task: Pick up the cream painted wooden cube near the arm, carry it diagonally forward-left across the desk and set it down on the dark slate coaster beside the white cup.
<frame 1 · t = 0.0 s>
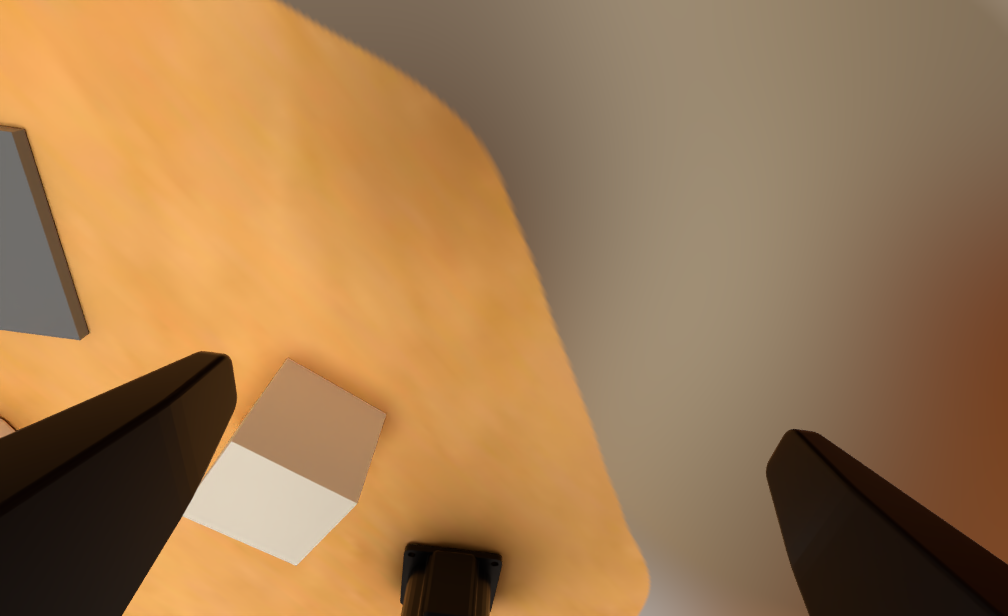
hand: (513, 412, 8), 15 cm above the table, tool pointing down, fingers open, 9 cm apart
cube: (312, 418, 28), on the table
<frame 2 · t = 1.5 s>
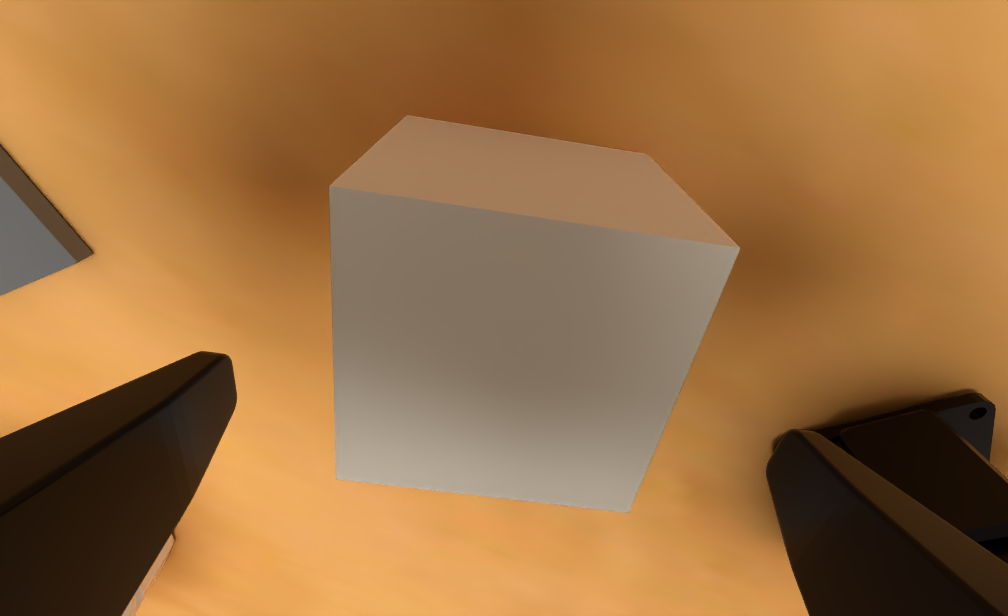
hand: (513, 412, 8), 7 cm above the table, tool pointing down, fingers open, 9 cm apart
cube: (509, 245, 14), on the table
white cup: (92, 515, 20), on the table
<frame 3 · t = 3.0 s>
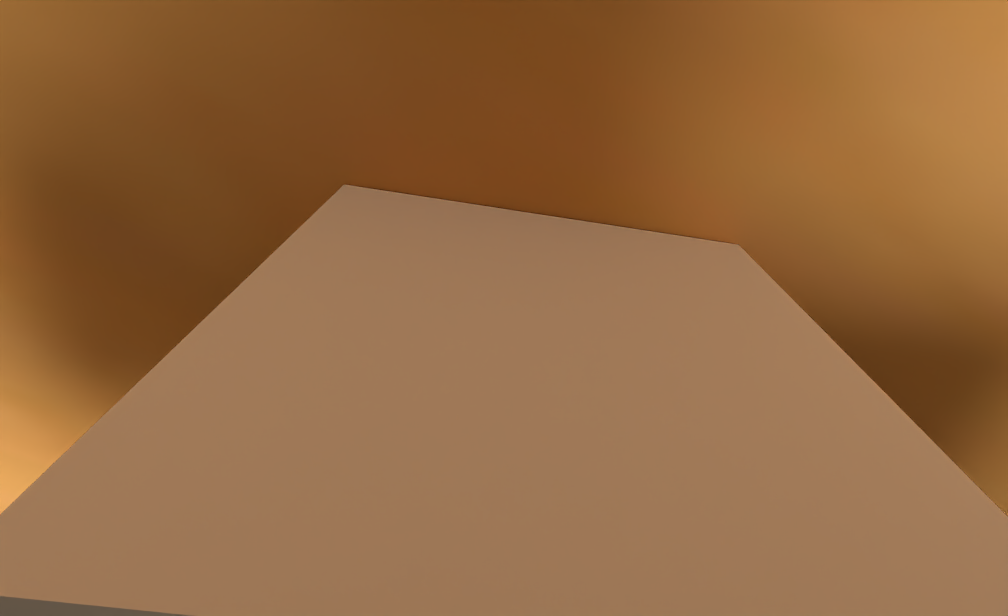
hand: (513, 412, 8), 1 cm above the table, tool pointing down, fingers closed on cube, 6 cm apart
cube: (513, 373, 9), on the table, touching gripper
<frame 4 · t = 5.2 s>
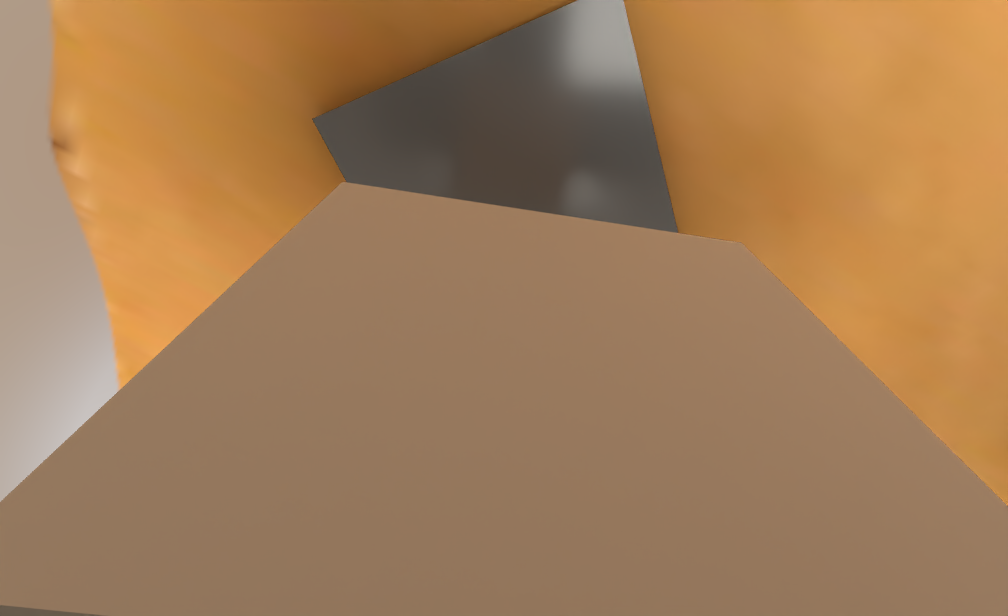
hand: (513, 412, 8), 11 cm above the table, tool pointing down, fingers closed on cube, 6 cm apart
cube: (514, 373, 9), point 10 cm above the table, touching gripper
coaster: (514, 201, 18), on the table
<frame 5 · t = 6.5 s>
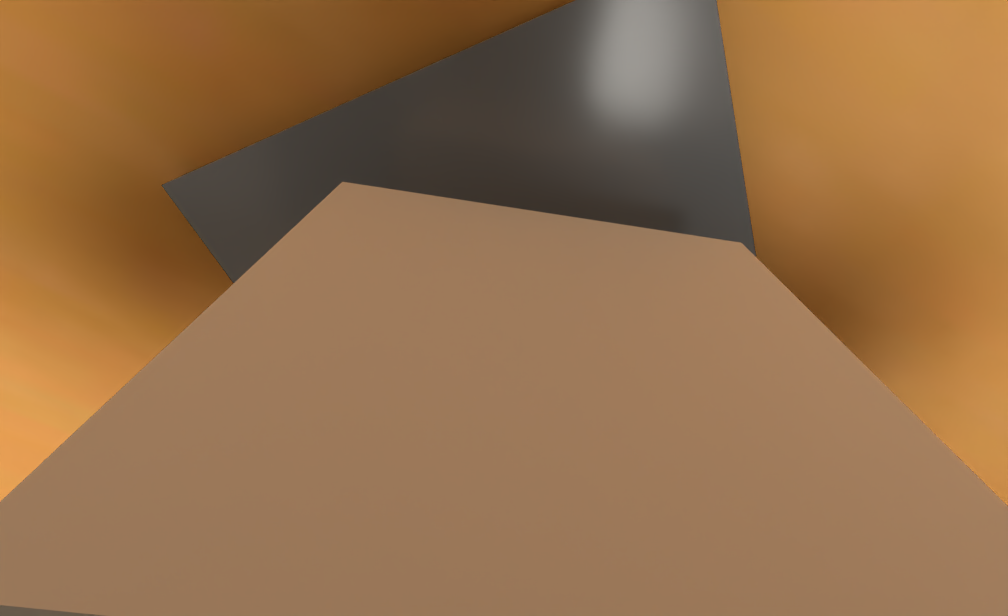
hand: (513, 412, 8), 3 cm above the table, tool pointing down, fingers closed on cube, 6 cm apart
cube: (514, 373, 9), point 3 cm above the table, touching gripper
coaster: (510, 305, 11), on the table
when the fingers open (3 cm above the table, at t = 7.5 s): cube drops 1 cm, resting on coaster.
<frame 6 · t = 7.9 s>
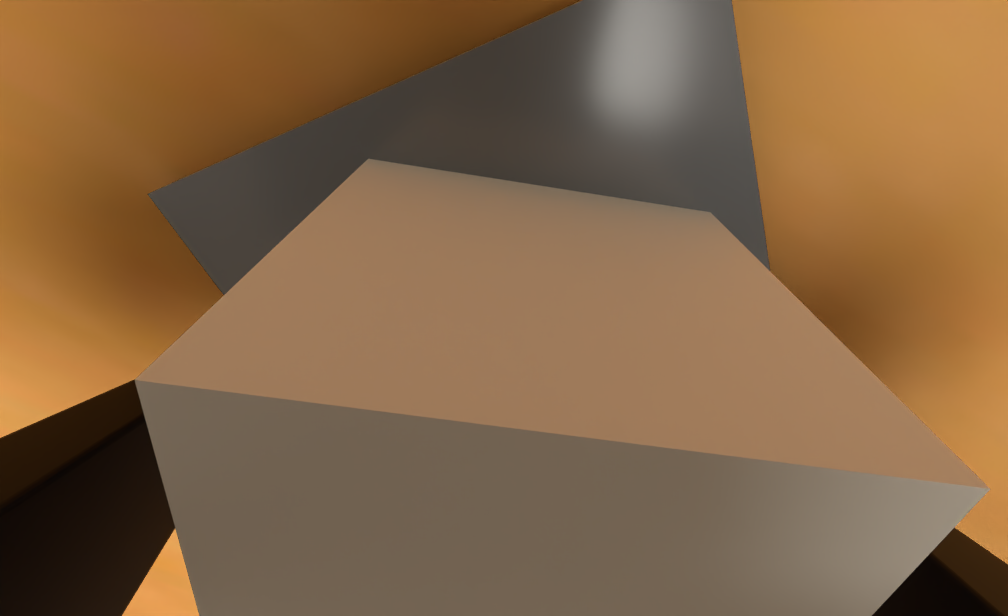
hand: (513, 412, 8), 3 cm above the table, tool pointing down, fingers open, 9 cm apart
cube: (514, 330, 10), point 1 cm above the table, touching coaster
coaster: (512, 317, 11), on the table
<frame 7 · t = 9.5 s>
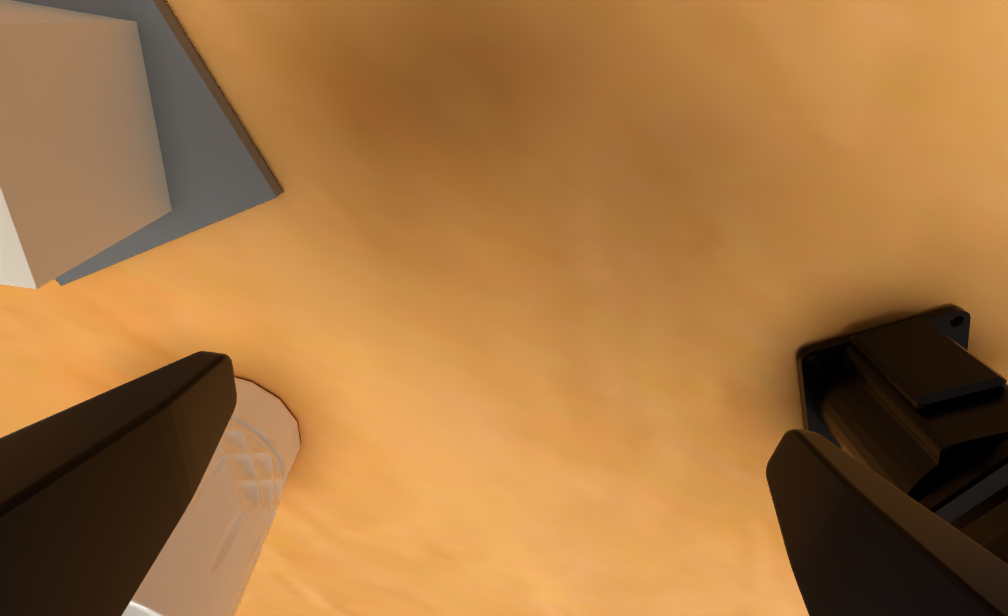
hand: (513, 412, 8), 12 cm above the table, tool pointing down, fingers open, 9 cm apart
cube: (60, 109, 16), point 1 cm above the table, touching coaster
coaster: (73, 108, 17), on the table
white cup: (233, 423, 24), on the table
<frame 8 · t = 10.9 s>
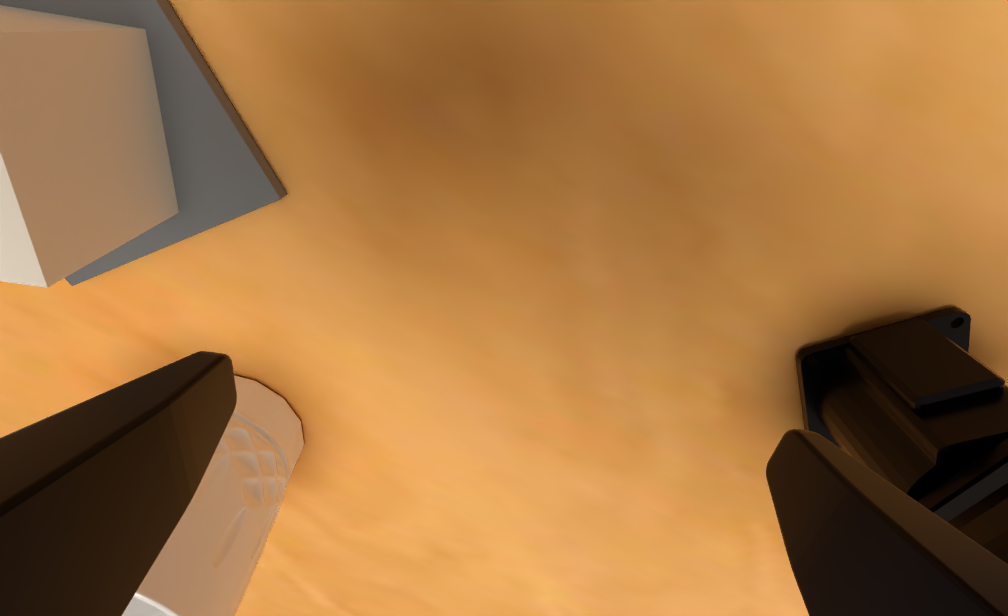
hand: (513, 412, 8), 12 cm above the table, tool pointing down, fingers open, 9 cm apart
cube: (72, 114, 17), point 1 cm above the table, touching coaster
coaster: (84, 113, 17), on the table
white cup: (238, 422, 25), on the table
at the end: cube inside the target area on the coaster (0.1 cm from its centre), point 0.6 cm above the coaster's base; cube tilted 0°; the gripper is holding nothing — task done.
